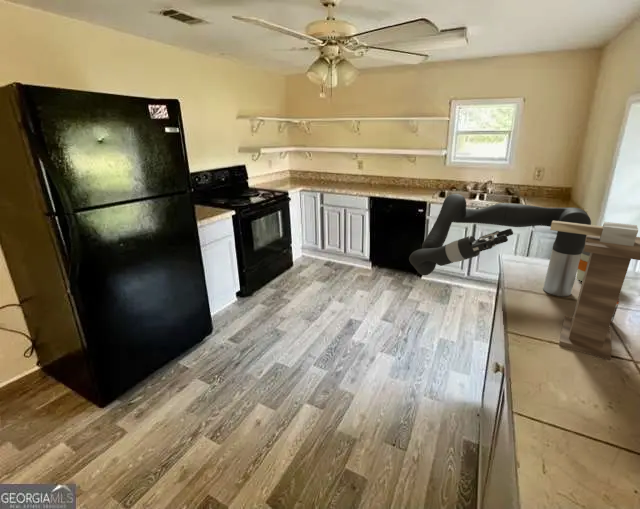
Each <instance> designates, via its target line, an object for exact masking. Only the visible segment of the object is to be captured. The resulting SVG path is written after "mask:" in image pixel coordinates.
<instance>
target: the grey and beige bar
mask: <svg viewBox="0 0 640 509" xmlns="http://www.w3.org/2000/svg"><path fill="white" fill-rule="evenodd" d="M550 231H556V232H558V231H562V232H569V233H577V234H585V235H592V236H600V242H606V243H613V244H620V245H627V246H634V243H635V240H636V237H638V232H639V228H638V225H637V224H631V223H630V224H629V223H620V222H613V221H612V222H611V221H603V225H596V224H595V225H594V224H591V225H587V224H578V223H570V222H561V221H552V224H551V227H550Z"/></svg>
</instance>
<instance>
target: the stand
mask: <svg viewBox="0 0 640 509" xmlns="http://www.w3.org/2000/svg"><path fill="white" fill-rule="evenodd" d="M584 252H590V256H589V260H588V263H587V267H586V270H585V274H584V278H583V281H582V282H581V286H580V288H579V292H578V296H577V300H576V304H575V307H574V311H573V314H572V316H569V315H565V316H564V318H563V323H562V328H561V332H560V337H559V338H560V339H559V343H558V345H559V346H560V347H563V348H567V349H571V350H573V351H577V352H581V353H584V354H587V355H591V356H594V357H598V358H601V359H605V360H607V361H610V360H611V357H612V339H611V333H612V332H611V326H610V325H611V323H610V322H611V319H612V316H613V313H614V310H615V307H616V304H617V301H618V298H619V299H620V294H621V291H622V288H623V285H624V282H625V279H626V276H627V274H628V270H629V267H630V263H631V260H635V261H640V236H636V240H635V243H634V246H627V245H620V244H613V243H606V242H600V236H592V235H586V240H585V247H584Z"/></svg>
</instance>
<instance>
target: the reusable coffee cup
mask: <svg viewBox="0 0 640 509" xmlns="http://www.w3.org/2000/svg"><path fill="white" fill-rule="evenodd" d="M589 256H590V252H584V248H583V251H582V254H581V258H580V262H579V266H578V269H577V273H576V280H577V281H579V280H580V281H579V282H581V281H583V278H584V274H585V270H586V267H587V263H588V260H589Z"/></svg>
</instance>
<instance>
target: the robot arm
mask: <svg viewBox="0 0 640 509" xmlns="http://www.w3.org/2000/svg"><path fill="white" fill-rule="evenodd" d="M591 220H592V219H591V218H590V215H588V213H587V211H585V210H583V209H582V208H579V207H546V206H545V207H543V206H536V205H530V204H523V203H521V204H520V203H513V202H511V203H510V202H508V203H507V202H499V203H495V204H493V205H489V206H487V207H483V208H467V201H466V198H465V196H463V195H462V194H460V193H452V194H449V195H448V196H446V197H445V199H444V200H443V202H442V204H441V208H440V210H439V213H438V215H437V217H436V220H435V222H434V224H433V225H432V227H431V229H430V231H429V233H428V234H427V236H426V238H425V239H424V241H423V242H422V244H421V248H419V249H417V250H414V251H413V252H412V253H411V254H410V255H409V257H408V260H409V262H410V264H411V265H412V266H413V268H414V269H415V270H416V271H417V273H418V274H420V275H421V276H429V275H430V274H432V272H433V271H434V270H435V269H436V266H440V267H441V266H447V265H450V264H452V263H453V264H454V263H458V262H462V261H465V260H469V259H473V258H476V257H479V255H480V252H483V251H487V250H491V249H493V248H494V247H496V246H497V245H500V244H504V243H507V242H508V241H509V239H508V237H509V236H513V234H514V232H513V229H512V228H527V227H550V228H551V224H552V221H561V222H570V223H578V224H587V225H592V221H591ZM453 223H455V224H456V223H458V224H461V223H462V224H483V225H496V226H502V227H509V228H506V229H504V230H501V231H500V230H496V231H494V232H491V233H488V234H485V235H481V236H480V237H478V239H476V238H475V237H474V236H473V235H468V236H466V237H463V238H459V239H457V240H454V241H451V242H449V243H447V244H445V241H446V239H447V237H448V234H449V231H450V228H451V226H452V224H453ZM495 236H496V237H495ZM585 240H586V235H585V234H577V233H569V232H562V231H556V237H555V240H554V242H553V245H552V248H551V249H552V250H551V253H550V257H549V262H548V266H547V270H546V271H547V272H546V276H545V279H544V283H543V288H542V289H543V290H544V292H545V293H548V294H550V295H553V296H558V297H568V296H571V295H572V290H573V288H574V284H575V281H576V278H577V269H578V266H579V262H580V258H581V254H582V251H583V248H584V247H585Z"/></svg>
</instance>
